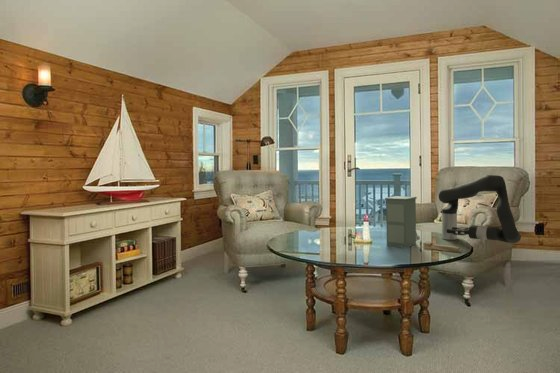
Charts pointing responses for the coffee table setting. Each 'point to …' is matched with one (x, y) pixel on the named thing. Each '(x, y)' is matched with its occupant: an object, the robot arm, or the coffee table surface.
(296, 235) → the coffee table surface
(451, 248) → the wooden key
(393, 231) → the cabinet
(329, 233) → the coffee table surface
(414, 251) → the coffee table surface
